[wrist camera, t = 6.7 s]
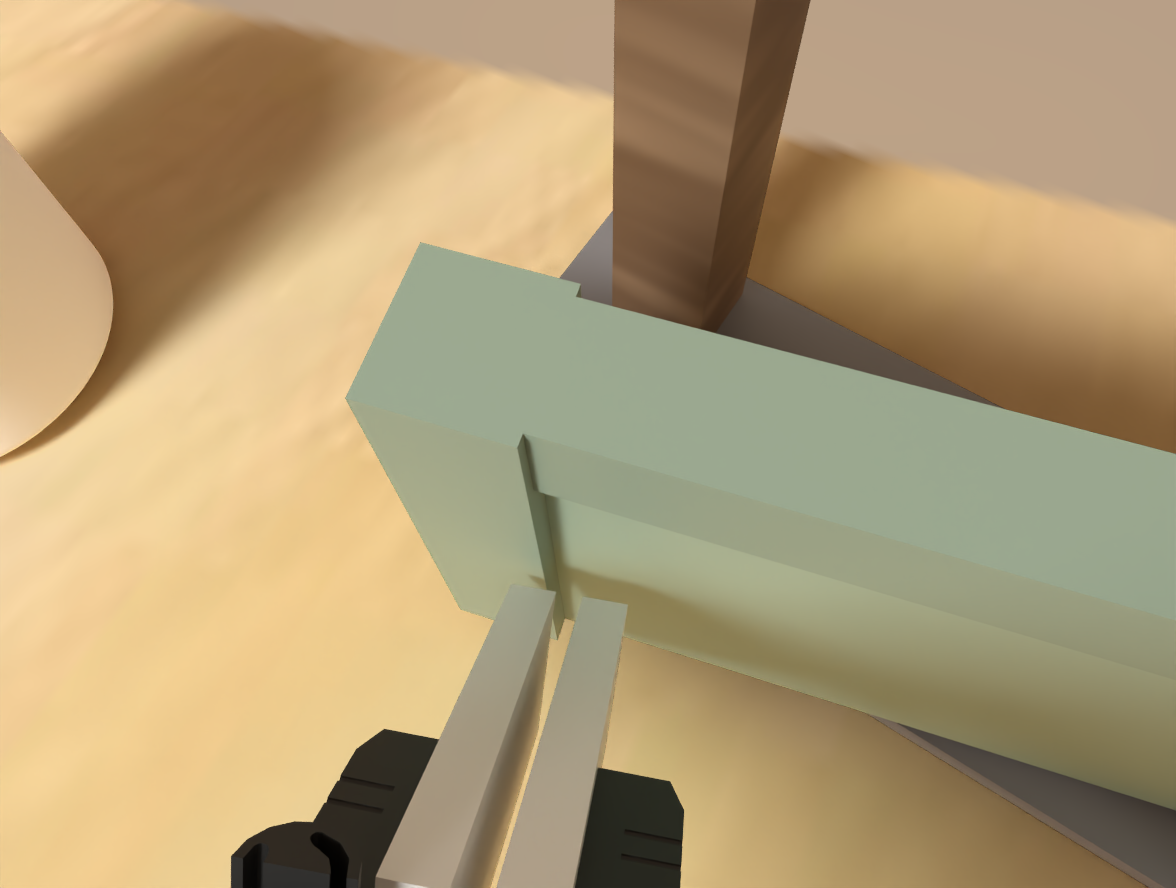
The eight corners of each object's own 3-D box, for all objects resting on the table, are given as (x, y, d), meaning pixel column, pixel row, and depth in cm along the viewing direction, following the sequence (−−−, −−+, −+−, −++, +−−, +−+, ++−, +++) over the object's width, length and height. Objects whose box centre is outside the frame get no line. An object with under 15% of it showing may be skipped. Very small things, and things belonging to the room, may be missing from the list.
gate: (1562, 961, 17) (2595, 1049, 8) (460, 609, 20) (345, 398, 11) (1550, 825, 18) (2464, 773, 9) (498, 509, 21) (420, 242, 12)
